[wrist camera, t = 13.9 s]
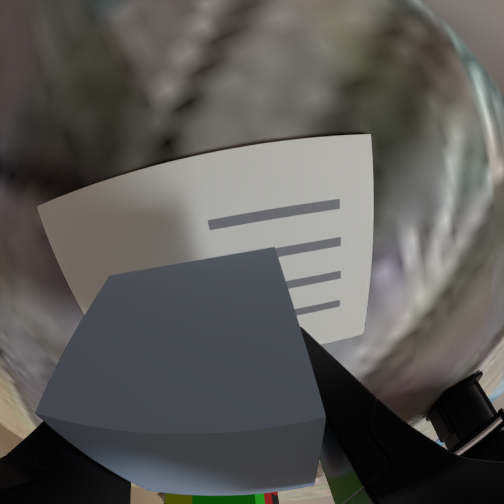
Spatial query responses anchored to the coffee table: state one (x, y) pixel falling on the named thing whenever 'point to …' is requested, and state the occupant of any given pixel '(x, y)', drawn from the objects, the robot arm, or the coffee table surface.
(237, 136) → the coffee table surface
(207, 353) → the blue cube
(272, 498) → the puzzle toy
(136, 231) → the letter
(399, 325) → the coffee table surface
